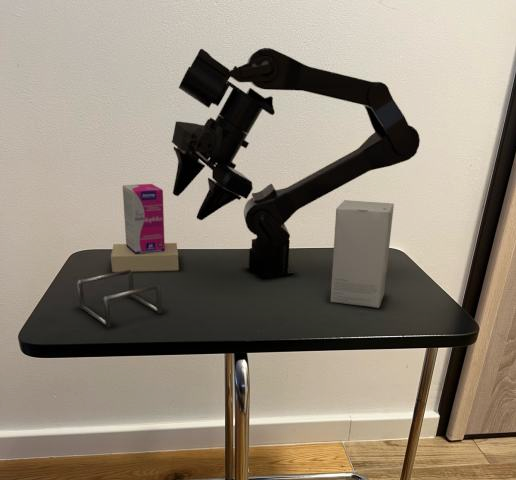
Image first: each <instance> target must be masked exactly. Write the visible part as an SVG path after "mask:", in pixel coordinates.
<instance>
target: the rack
mask: <svg viewBox="0 0 516 480" xmlns="http://www.w3.org/2000/svg"><path fill="white" fill-rule="evenodd" d="M125 275H127V279H128V290H127V291H122V292H119V293H115V294H114V293H113V294H108V295H106V296H103V299H102V302H103V311H104V318H103V317H102V316H100V315H99V314H97V313H95V312H94V311H93V310H91V309H90V308H88V307H87V306H86V303H85V297H84V296H85V295H84V287H83V284H87V283H88V284H89V283H92V282H96V281H101V280H106V279H110V278H115V277H120V276H125ZM133 275H134V274H133V272H132V270H126V271H121V272H111V273H106V274H102V275H97V276H93V277H92V276H91V277H87V278H82V279H78V280H77V281H76V284H77V291H78V292H77V294H78V299H79V308H80V310H82V311H84V312H85V313H87V314H89V315H90V316H91V317H93V318H94V319H96V320H97V321H99V322H100V323H101V324H103V325H104V326H105V328H106V329H107V328H108V329H109V328H111V327H112V323H111V313H110V302H109V301H111V300H116V299H119V298H124V297H127V296H129V298H132V299H134V300H135V301H137V302H139V303H140V304H142V305H144V306H146V307H147V308H149V309H151V310H153V311H154V312H156V313H157V314H158V315H159V314H160V315H161V314H162V313H163V311H162V309H163V308H162V291H161V285H160V284H158V283H157V284H151V285H148V286H144V287H140V288H136V289H134V277H133ZM153 290H155V301H156V302H155V303H156V306H155V305H153V304H152V303H150V302H148V301H146V300H145V299H143V298H141V297H140V296H137V295H136V294H141V293H144V292H149V291H153Z"/></svg>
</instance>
